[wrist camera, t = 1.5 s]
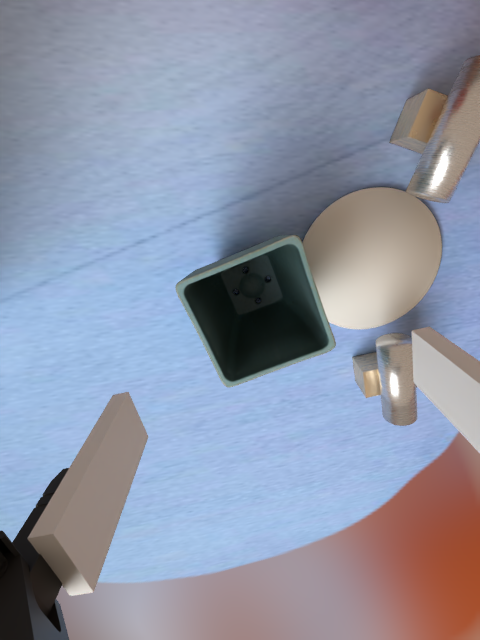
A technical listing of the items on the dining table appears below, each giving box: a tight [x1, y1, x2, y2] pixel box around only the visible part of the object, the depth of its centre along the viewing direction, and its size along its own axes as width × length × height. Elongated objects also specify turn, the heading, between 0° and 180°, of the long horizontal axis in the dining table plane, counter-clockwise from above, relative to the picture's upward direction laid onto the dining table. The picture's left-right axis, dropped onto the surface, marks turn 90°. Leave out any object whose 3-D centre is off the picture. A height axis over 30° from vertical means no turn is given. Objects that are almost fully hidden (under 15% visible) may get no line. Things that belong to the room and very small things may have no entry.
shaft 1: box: [352, 333, 417, 426], centre depth 30 cm, size 8×5×6 cm, turn 14°
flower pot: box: [176, 235, 336, 387], centre depth 26 cm, size 9×9×9 cm
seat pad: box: [302, 187, 442, 329], centre depth 29 cm, size 13×13×1 cm
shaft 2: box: [389, 55, 480, 203], centre depth 23 cm, size 8×5×6 cm, turn 164°
